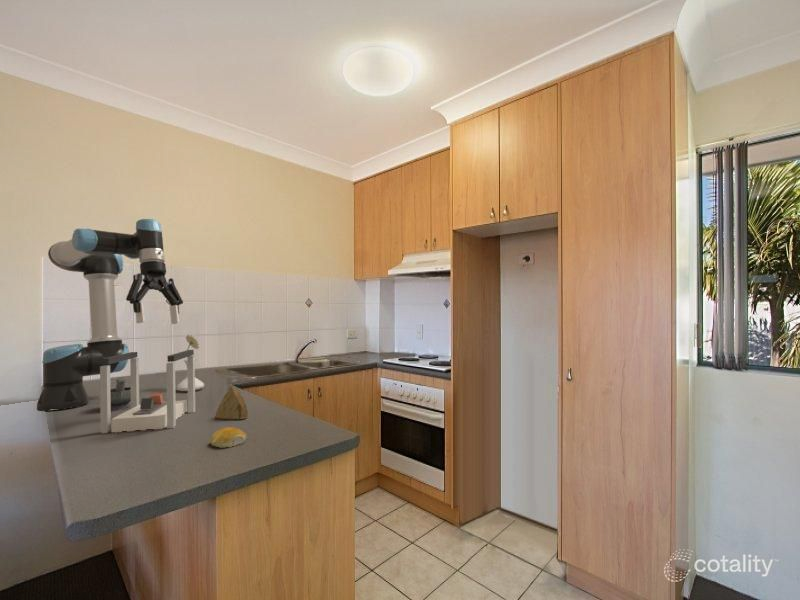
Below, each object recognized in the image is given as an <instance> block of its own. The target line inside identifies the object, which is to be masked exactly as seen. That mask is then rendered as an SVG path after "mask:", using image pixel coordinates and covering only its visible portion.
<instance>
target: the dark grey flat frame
mask: <svg viewBox="0 0 800 600" xmlns="http://www.w3.org/2000/svg"><path fill="white" fill-rule="evenodd" d="M189 356H195V351H194V349H188V350H187V349H186V350H183V351H179V352H177V353H173V354H169V355H167V363H174V362H176V361H179V360H182V359H183V360H184V359H187V357H189ZM132 358H138V351H131V352H130V351H129V353H125V354H121V355H116V356H112V357H107V358H103V359H102V365H108V364H112V363H116V362H120V361H124V360H128V361H129V360H130V359H132Z"/></svg>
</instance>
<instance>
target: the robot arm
mask: <svg viewBox="0 0 800 600" xmlns="http://www.w3.org/2000/svg"><path fill="white" fill-rule="evenodd" d="M164 250H165V249H164V241H163V230H162V225H161V223H160V221H158V220H156V219H153V218H152V219H151V218H142V219H138V220H137V221H136V222H135V232H134V233H132V234H130V233H123V232H116V231H115V232H112V231H106V230H96V229H92V228H76V229H75V230H73V233H72V235H71V239H69V240H66V241H64V240H63V241H58V242H56V243H54V244H53V245H51V246H50V247H49V249H48V253H47V255H48V259H49V260H50V262H51V263H52V264H53V265H54V266H56V267H57V268H59V269H61V270H64V271H69V272H76V273H83V278H84V279H86V280H87V282H88V295H89V296H88V297H89V312H90V313H89V314H90V317H89V318H90V331H91V332H90V334H91V338H90V339H89V340H88V341H87V342H86V345H87V346H84V345H83V344H81V343H74V344H73V343H72V344H67V345H61V346H55V347H51V348H47V349H46V350H45V351H44V352H43V356H42V362H41V364H42V391H41V393H40V395H39V398H38V400H37V403H36V411H38V412H49V411H48V410H50V409H64V408H70V409H72V408H71V407H75V408H78V407H77V406H79V407H82V406H81V405H83V406H85V405H84V404H86V405H88V404H89V403H90V399H89V395H88V393H87V391H86V388H85V386H84V381H83V380H84V377H89V376H91V377H92V376H96V375H97V376H100V366H108V365H110V374H112V373H117V372H121V371H124V369H125V368H126V366H127V365H128V362H129V359H128V360H124V361H120V362H116V363H112V364H108V365H102V359H103V358H107V357H112V356H116V355H121V354H125V353H130V350H129V348H128V347H129V346H128V345H127V344H125V343H123V339H122V338H120V337H119V336H118V327H117V326H118V325H117V309H116V308H117V307H116V293H115V280H117V279H118V277H119V274H121V273H122V272H123V271H124V270H123V269H124V259H123V256H124V257H127V258H128V259H132V260H137V259H139V263H140V264H139V269H140V271H139V272H138V273H136V274H134V275H133V277H132V283H131V285H130V288H129V290H128V293H127V296H126V298H125V300H126V301H127V302H129V303H130V304H131V305H132V308H133V312H134V314H135V321H136V322H135V323H136V324H141V323H145V322H146V317H145V308H144V307H145V306H144V302H142V300H143V299H144V297H145V296H146V294H147V293H148V292H149V291H150V290H154V291H158V292H159V293H160V294H162V296H163V297H164V298H165V299H166V301H167V302H168V303H169V304H170V305H171V306H169V311H170V313H169V314H170V320H171V325H176V324H179V323H180V317H179V315H180V308H179V307H180V305H182V304H184V300H183V299H182V297H181V295H180V293H179V291H178V289H177V287H176V285H175V283H174V279H173V278H172V277H171V278H166V277H165V276H166V274H167V268H166V263H165V262H166V259H165V251H164ZM122 255H123V256H122ZM142 282H143V284H142ZM88 402H89V403H88ZM87 403H88V404H87ZM64 410H65V409H64Z"/></svg>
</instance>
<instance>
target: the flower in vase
mask: <svg viewBox="0 0 800 600" xmlns="http://www.w3.org/2000/svg"><path fill="white" fill-rule="evenodd" d="M185 339H186V342H187V343H188V346H187V349H186V350H190V349H189V348H190V347H191V348H192V349H195V350H198V349H199V348H200V343H198V340H197V338H195V337H194V336H193V335H192V334H191V335H190V334H187V335H186V337H185ZM195 361H197V359H196V358H195ZM183 362H184V363H185V365H186V366H187V358H185V359H183ZM204 387H205V383H204V382H203V381H202V380H200V379H198V378H197V377H195V391H197V390H201V389H203V388H204ZM175 390H177V391H179V392H188V372H187V371H186V377H185V378H184V379H183V380H181V381H180V382H179V383H178V384H177V385H175Z"/></svg>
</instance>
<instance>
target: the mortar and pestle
mask: <svg viewBox="0 0 800 600" xmlns="http://www.w3.org/2000/svg"><path fill="white" fill-rule="evenodd" d="M115 381H116V386H115V388H110V398H111V411H113V410H114V411H120V410H119V409H122V410H125V409H124V408H126V409H128V408H127V407H129V408H130V403H131V386H129V387H128V386H125V382H126V377H124V376H123V377H117V378H116V380H115Z"/></svg>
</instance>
